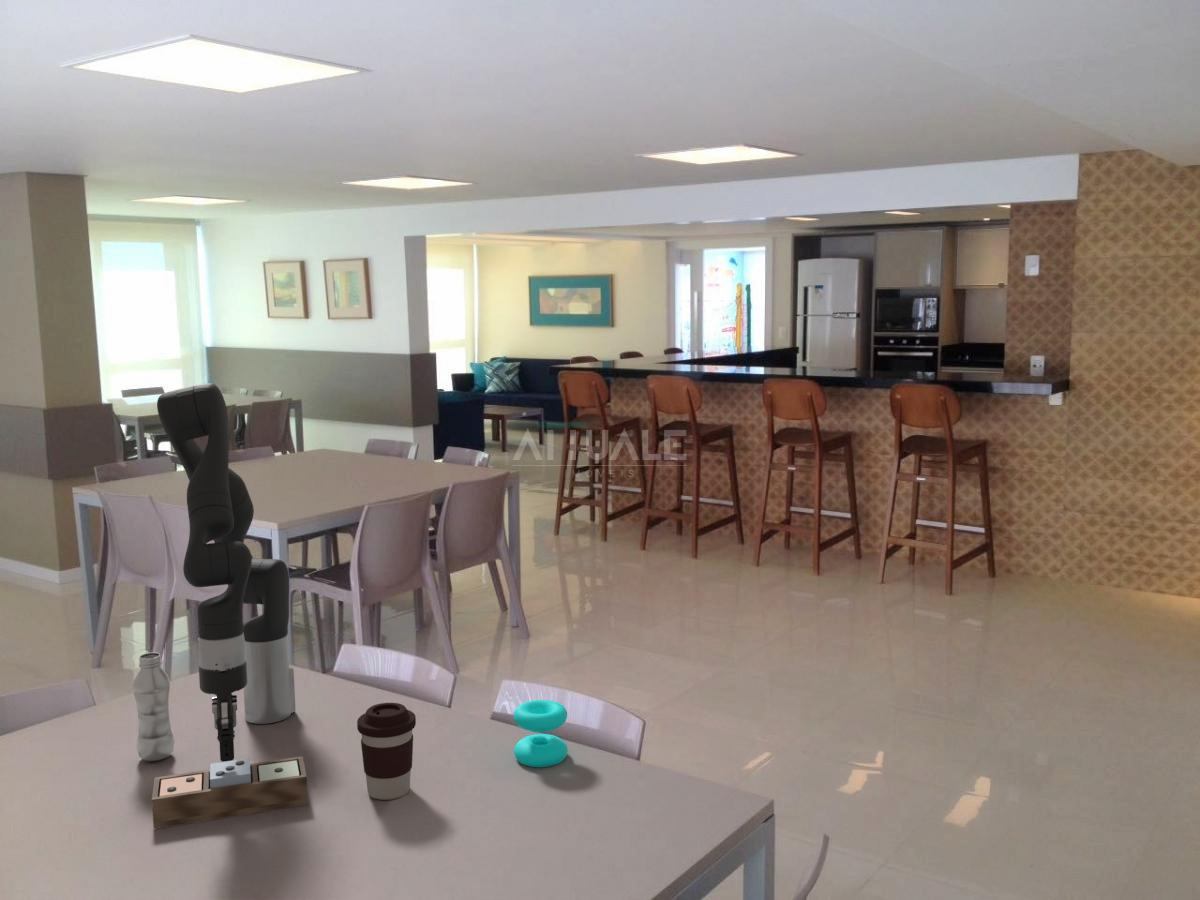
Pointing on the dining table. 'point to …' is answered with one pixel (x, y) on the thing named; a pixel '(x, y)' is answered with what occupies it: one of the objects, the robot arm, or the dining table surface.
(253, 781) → the dice tray set
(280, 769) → the button one
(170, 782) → the button two
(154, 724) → the plastic bottle
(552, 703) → the donuts
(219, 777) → the button three
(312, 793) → the dining table surface
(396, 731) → the coffee cup
